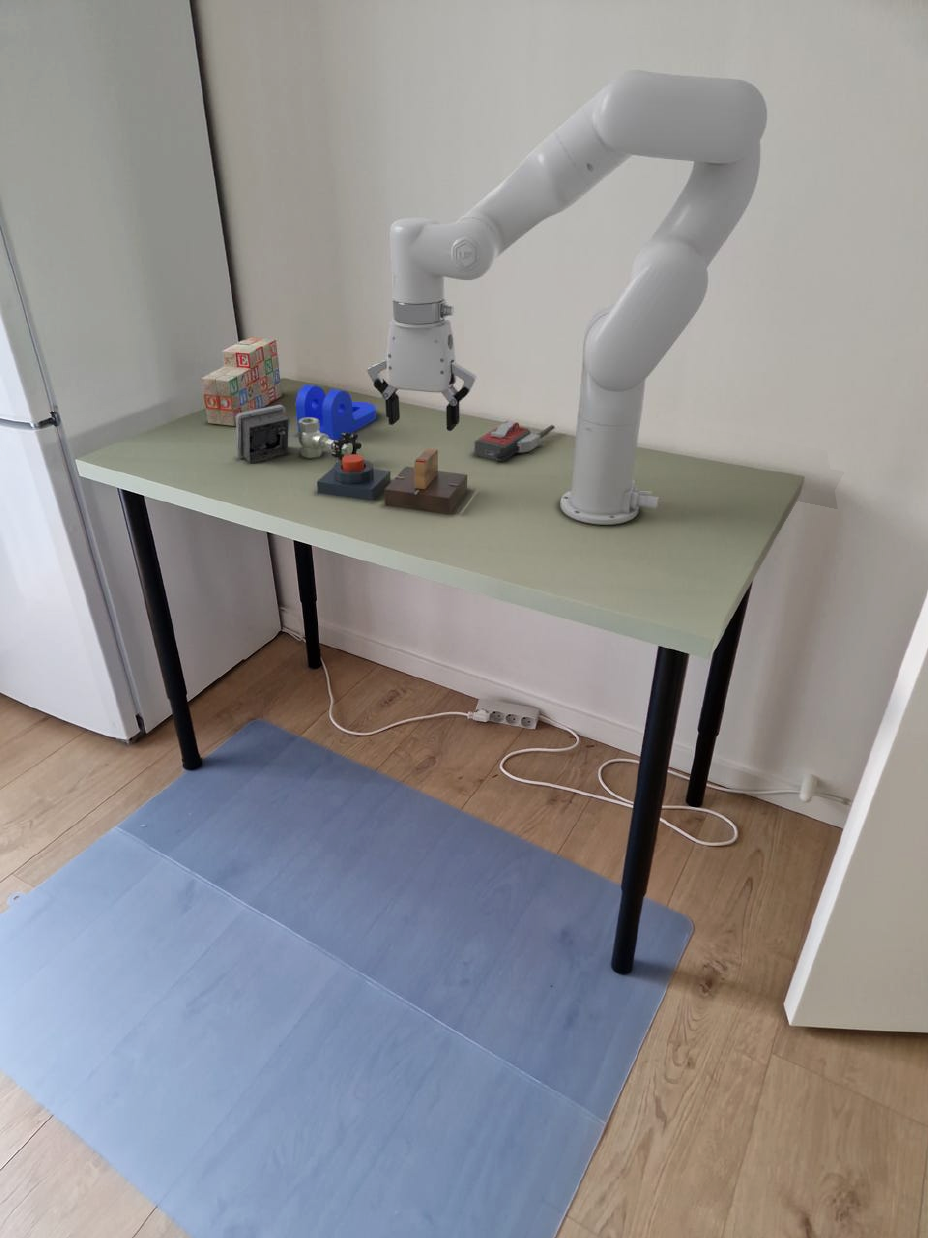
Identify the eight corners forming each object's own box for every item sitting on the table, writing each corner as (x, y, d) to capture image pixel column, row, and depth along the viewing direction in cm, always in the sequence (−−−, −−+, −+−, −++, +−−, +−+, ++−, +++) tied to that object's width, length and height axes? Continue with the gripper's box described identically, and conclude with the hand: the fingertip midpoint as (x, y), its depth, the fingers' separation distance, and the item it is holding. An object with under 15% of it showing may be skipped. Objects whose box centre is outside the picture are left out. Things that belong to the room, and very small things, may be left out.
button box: (390, 482, 140) (389, 461, 138) (373, 501, 134) (371, 478, 132) (337, 475, 143) (336, 454, 141) (317, 493, 136) (315, 471, 134)
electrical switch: (282, 447, 154) (279, 400, 148) (295, 457, 151) (292, 410, 145) (236, 458, 149) (230, 410, 143) (248, 469, 146) (243, 421, 140)
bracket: (333, 442, 156) (329, 396, 151) (298, 435, 159) (293, 389, 154) (383, 415, 169) (381, 372, 165) (350, 408, 173) (347, 366, 168)
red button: (367, 465, 137) (367, 455, 136) (359, 473, 134) (358, 463, 133) (348, 462, 138) (347, 453, 137) (339, 470, 135) (338, 460, 134)
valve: (290, 457, 150) (336, 473, 143) (286, 422, 146) (334, 437, 140) (317, 447, 154) (362, 462, 148) (313, 413, 150) (360, 427, 144)
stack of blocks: (235, 427, 163) (226, 365, 156) (207, 424, 164) (197, 362, 157) (282, 395, 180) (276, 338, 173) (257, 392, 181) (249, 335, 175)
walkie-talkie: (510, 467, 147) (557, 434, 161) (511, 444, 144) (559, 412, 159) (468, 457, 150) (518, 426, 165) (468, 434, 148) (519, 404, 162)
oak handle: (427, 473, 136) (427, 446, 134) (438, 474, 136) (437, 447, 133) (414, 488, 131) (413, 460, 128) (425, 489, 131) (424, 461, 128)
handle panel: (467, 490, 138) (467, 472, 136) (448, 516, 130) (448, 498, 128) (407, 481, 141) (406, 464, 139) (384, 506, 132) (383, 488, 130)
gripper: (482, 310, 120) (481, 422, 129) (374, 303, 124) (380, 412, 134) (468, 321, 114) (468, 438, 123) (354, 314, 118) (363, 427, 128)
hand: (422, 424), depth 128 cm, fingers open, 9 cm apart
